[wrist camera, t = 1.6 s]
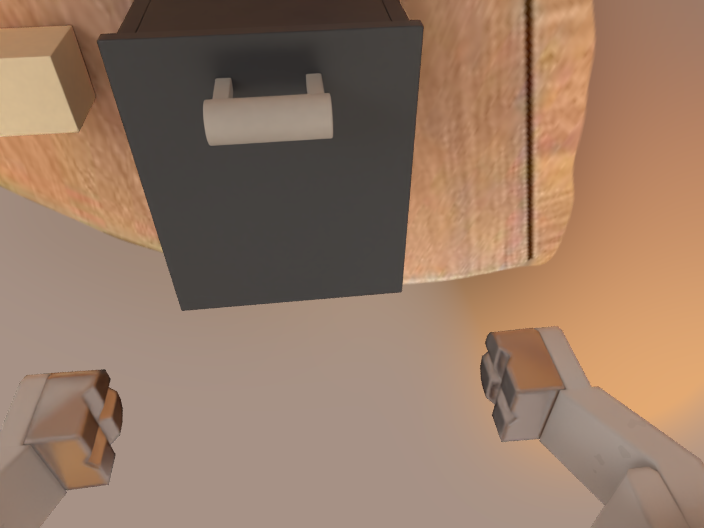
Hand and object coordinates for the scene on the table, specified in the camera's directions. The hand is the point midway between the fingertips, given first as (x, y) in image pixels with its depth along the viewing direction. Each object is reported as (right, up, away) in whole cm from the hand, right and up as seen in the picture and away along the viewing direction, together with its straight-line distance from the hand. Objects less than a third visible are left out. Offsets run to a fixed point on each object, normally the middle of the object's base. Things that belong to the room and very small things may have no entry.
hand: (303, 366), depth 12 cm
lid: (-3, +6, +18) cm, 19 cm away
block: (-18, +14, +22) cm, 31 cm away
